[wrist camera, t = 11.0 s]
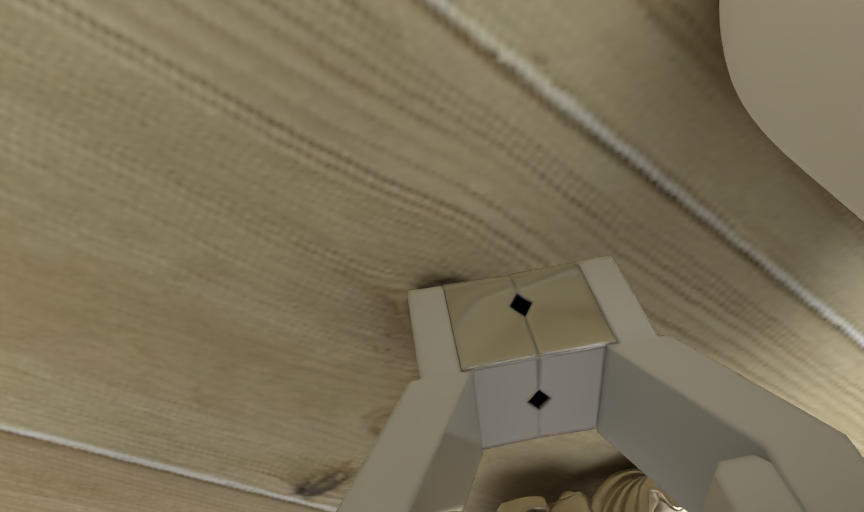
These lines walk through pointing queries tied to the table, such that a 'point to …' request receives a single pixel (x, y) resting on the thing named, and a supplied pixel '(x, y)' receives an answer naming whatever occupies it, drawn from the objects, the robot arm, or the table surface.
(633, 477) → the ornament
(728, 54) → the cup
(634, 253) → the table surface
